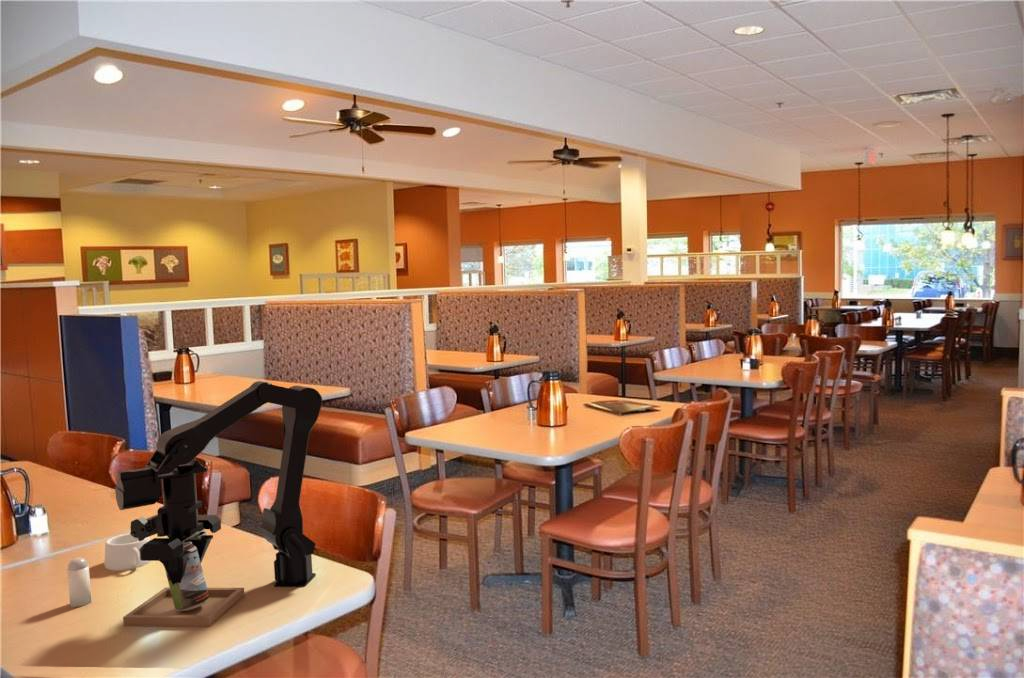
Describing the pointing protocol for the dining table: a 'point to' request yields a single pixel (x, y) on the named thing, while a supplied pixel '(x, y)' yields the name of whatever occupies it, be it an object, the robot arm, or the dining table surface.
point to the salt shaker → (79, 582)
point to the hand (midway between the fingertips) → (185, 582)
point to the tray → (164, 613)
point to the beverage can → (190, 582)
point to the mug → (124, 552)
